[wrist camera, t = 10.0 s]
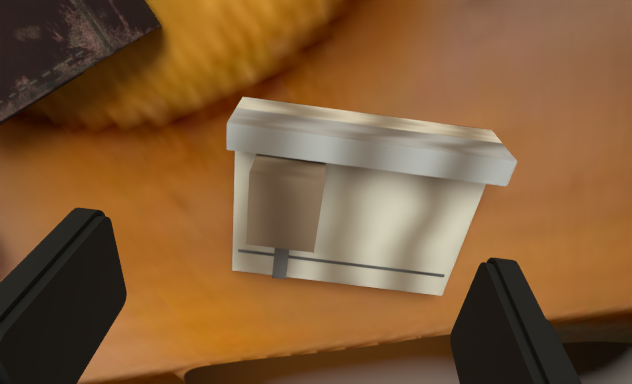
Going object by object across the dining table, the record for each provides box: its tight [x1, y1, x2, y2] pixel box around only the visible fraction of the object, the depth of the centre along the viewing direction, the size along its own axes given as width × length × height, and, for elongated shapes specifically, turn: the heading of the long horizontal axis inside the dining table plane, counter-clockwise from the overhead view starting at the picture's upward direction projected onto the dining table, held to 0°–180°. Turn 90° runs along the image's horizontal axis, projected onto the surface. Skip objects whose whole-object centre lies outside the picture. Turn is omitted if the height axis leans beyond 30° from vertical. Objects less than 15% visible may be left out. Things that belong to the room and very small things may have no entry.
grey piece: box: [227, 97, 517, 296], centre depth 34 cm, size 20×16×6 cm
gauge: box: [246, 154, 326, 279], centre depth 32 cm, size 5×12×5 cm, turn 173°
